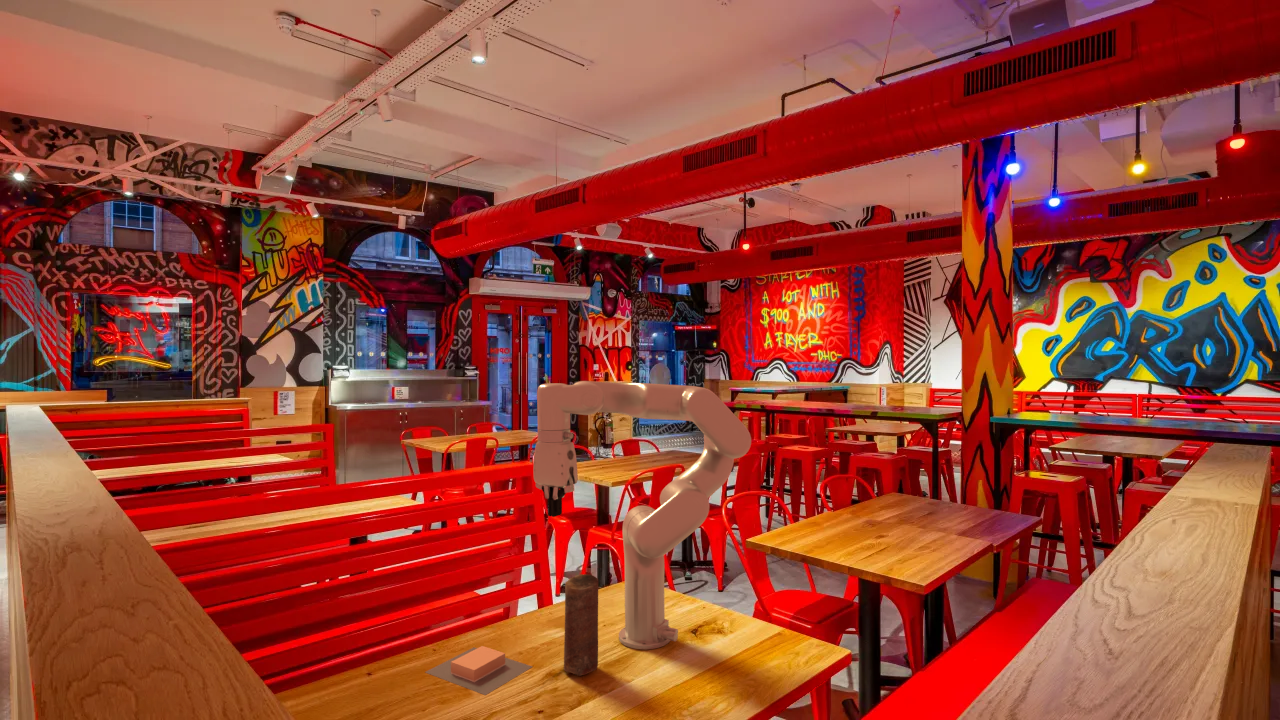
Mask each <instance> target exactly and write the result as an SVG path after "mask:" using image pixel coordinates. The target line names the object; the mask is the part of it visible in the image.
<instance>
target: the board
mask: <svg viewBox="0 0 1280 720" xmlns="http://www.w3.org/2000/svg"><path fill="white" fill-rule="evenodd" d="M477 648H478V647H476V646H475V647H471V648H470V649H468V650H465V651H464V652H462V653H460V654H458V655H455V656H453V658H450V659H448V660H446V661H444V662H442V663H441V664H438V665H436V666H435V667H432V668H430V669H428V670H426V671H425V672H424V673H425V674H427V675H430V676H433V677H435V678H438V679H441V680H444V681H446V682H449V683H452V684H453V685H454V684H455V685H457V686H460V687H462V688H465V689H468V690H471V691H473V692H476V693H478V694H481V695H484V696H487V695H489V694H490V693H492V692H493V691H495V690H497V689H499V688H500V687H502V686H503V685H505V684H507V683H509V682H510V681H512V680H513V679H515V678H517V677H518V676H520V675H522V674H524V673H525V672H526V671H528V670H530V669H532V668H533V666H532V665H528V664H527V663H523V662H520V661H516V660H514V659H512V658H511V659H510V658H508V657H505V665H504V666H502V667H500V668H499V669H497V670H495V671H493V672H492V673H490V674H488V675H486V676H485V677H483V678H481V679H479V680H477V681H476V682H472V681H470V680H467V679H464V678H462V677H459V676H456V675H453V674H451V662H452V661H454V660H456V659H458V658H460V657H462V656H463V655H465V654H467V653H469V652H471V651H473V650H475V649H477Z"/></svg>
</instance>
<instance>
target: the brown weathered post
mask: <svg viewBox="0 0 1280 720" xmlns="http://www.w3.org/2000/svg"><path fill="white" fill-rule="evenodd" d="M564 584H565V587H564V591H565V592H564V594H565V595H564V641H563V642H564V643H563V644H564V646H563V647H564V648H563V649H564V650H563V669H564V671H565V672H566V673H571V674H573V675H574V676H578V677H581V676H585V675H587V674H589V673H591V672H593V671H596V670H597V669H598V666H599V579H598V578H597V576H595V575H593V574H584V573H583V574H582V573H581V574H577V575H574V576H572V577H570V578H569V579H567V580H566V581H565V582H564Z"/></svg>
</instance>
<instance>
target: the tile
mask: <svg viewBox="0 0 1280 720" xmlns="http://www.w3.org/2000/svg"><path fill="white" fill-rule="evenodd" d="M476 648H477V649H475V650H473V651H471V652H469V653H467V654H465V655H463V656H462V657H460V658H458V659H456V660H454V661H452V662H451V674H453V675H456V676H459V677H462V678H464V679H467V680H470V681H472V682H476V681H477V680H479V679H481V678H483V677H485V676H486V675H488V674H490V673H492V672H493V671H495V670H497V669H499V668H500V667H502V666H504V665H505V658H506V653H505V652H502V651H499V650H496V649H492V648H490V647H487V646H483V645H481V646H480V647H476Z"/></svg>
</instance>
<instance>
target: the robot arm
mask: <svg viewBox="0 0 1280 720" xmlns="http://www.w3.org/2000/svg"><path fill="white" fill-rule="evenodd" d="M536 391H537V394H536V396H537V399H536V400H537V402H536V403H537V407H536V409H537V442H536V443H535V448H534V455H533V470H532V471H533V480H534V482H535V487H536V488H537V489H539V490H541V491H542V493H544V498H545V499H547V516H548V517H553V518H554V517H557V516H561V515H562V514H563V498H564V497H565V495H566V494H567V493H571V492H575V486H574V485H575V484H577V483H578V478H579V477H578V476H579V475H578V474H579V473H578V461H577V453H576V450H575V444H574V442H572V441H571V440H572V439H573V438H574V433H572V432H571V414H572V415H581V416H582V415H583V416H588V415H591V416H592V415H594V414H597V413H598V412H599V413H611V414H621V415H625V416H629V417H632V418H636V419H645V420H667V421H687V422H692V423H694V425H695V426H696V427H697V428H698V430H699V431H701V433H702V434H703V442H704V443H703V449H702V453H701V455H700V456H699V458H698V459H697V460H696V461H695V462H694V463H693V464H692V465H690V467H689V468H687V469H686V470H685V471H683V472H682V473H681V474H679V475H678V476H677V477H675V479H673V480H672V481H671V482H669V483H668V484H667V485H665V487H664V488H663V489H662V490H661V491H660V494H659V503H660V506H659V507H657V509H655V508H653V507H651V506H648V505H637V506H635V507H633V508H631V509H629V511H628V512H627V513H626V515H625V516H624V518H623V522H622V541H623V553H624V554H623V555H624V557H623V558H624V627H623V628H622V629H620V631H619V632H618V640H619V642H620V643H621V644H622V645H624V646H625V647H628V648H631V649H635V650H654V649H659V648H662V647H664V646H666V645H667V644H669V643H670V642H671V641H672V642H677V641H678V637H679V629H678V628H674V627H670V626H669V625H670V624H669V619H666V618H665V617H666V616H665V613H666V612H665V555H666V554H668V553H669V552H671V551H672V550H673V549H674V548H675V547H677V546H678V545H679V544H680V543H682V542H683V541H684V540H686V539H687V538H688V537H689V536H690V535H691V534H692V533H694V532H695V531H696V530H697V529H699V527H700V526H702V525H703V523H704V522H705V521H706V519H707V517H708V516H709V513H710V501H709V498H710V497H711V496H713V495H714V494H715V493H716V492H717V491H718V490H719V489H720V488H721V487H722V486H724V484H725V483H726V482H727V480H728V479H729V477H730V475H731V474H732V471H733V467H734V462H735V460H736V459H739V458H742V457H744V456H745V455H746V454H747V453H748V452H749V450H750V448H751V445H752V437H751V433H750V432H749V430H748V428H747V426H746V425H745V424H744V423H743V422H742V421H741V420H740V419H739V417H737V415H735V414H734V413H733V412H732V410H731V409H730V408H729V407H728V406H727V405H726V404H725V403H724V401H723V400H721V399H720V397H719V396H717V394H715V393H714V391H712V390H710V389H709V388H705V387H702V386H696V385H685V384H684V385H683V384H682V385H681V384H666V383H650V382H649V383H647V382H632V383H630V382H627V383H626V382H623V383H622V382H610V381H609V382H605V381H593V380H592V381H591V380H580V381H577V382H575V383H574V384H566V383H562V382H561V383H550V382H549V383H542V384H540V385H539V386H537V390H536Z"/></svg>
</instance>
